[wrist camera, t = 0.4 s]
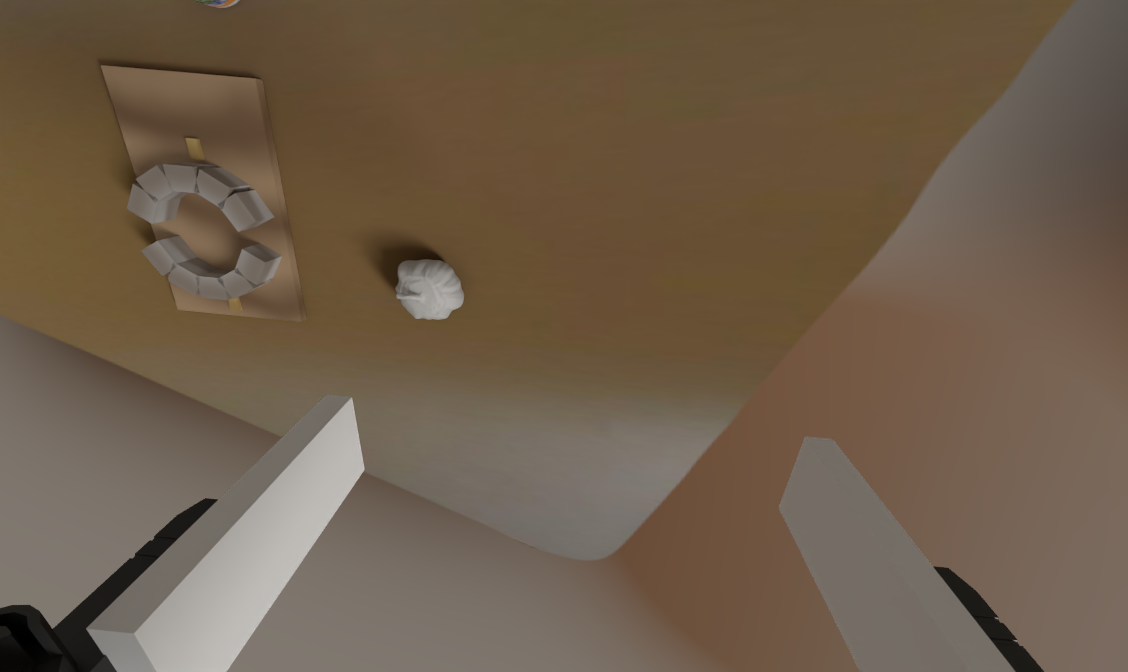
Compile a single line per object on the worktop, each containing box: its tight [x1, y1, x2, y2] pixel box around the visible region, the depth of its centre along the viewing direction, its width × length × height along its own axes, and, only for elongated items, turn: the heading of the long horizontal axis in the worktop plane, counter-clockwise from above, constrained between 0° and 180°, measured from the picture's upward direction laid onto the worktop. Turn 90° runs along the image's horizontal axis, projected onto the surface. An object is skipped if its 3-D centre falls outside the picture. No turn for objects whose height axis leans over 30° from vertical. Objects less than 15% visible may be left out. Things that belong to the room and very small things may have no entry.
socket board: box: [101, 65, 307, 322], centre depth 36 cm, size 20×12×3 cm, turn 175°
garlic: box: [395, 259, 464, 320], centre depth 37 cm, size 6×5×5 cm
